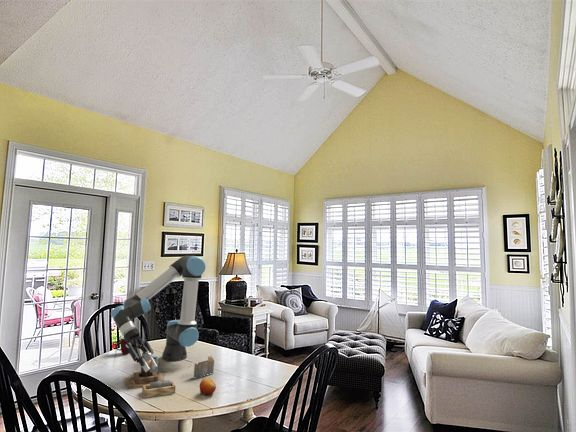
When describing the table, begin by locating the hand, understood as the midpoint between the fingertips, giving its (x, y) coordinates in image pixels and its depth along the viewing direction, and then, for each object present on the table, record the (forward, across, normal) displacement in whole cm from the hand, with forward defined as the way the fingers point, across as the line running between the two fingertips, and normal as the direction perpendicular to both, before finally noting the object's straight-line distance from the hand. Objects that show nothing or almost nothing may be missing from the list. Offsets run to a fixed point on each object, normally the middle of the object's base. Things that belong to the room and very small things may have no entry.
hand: (151, 368), depth 182 cm
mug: (-29, -30, -40) cm, 58 cm away
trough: (+13, +8, +4) cm, 16 cm away
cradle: (+2, 0, -8) cm, 8 cm away
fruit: (+28, -2, +18) cm, 34 cm away
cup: (-3, -14, -13) cm, 19 cm away
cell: (0, 0, -5) cm, 5 cm away
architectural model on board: (+18, -22, +7) cm, 29 cm away
